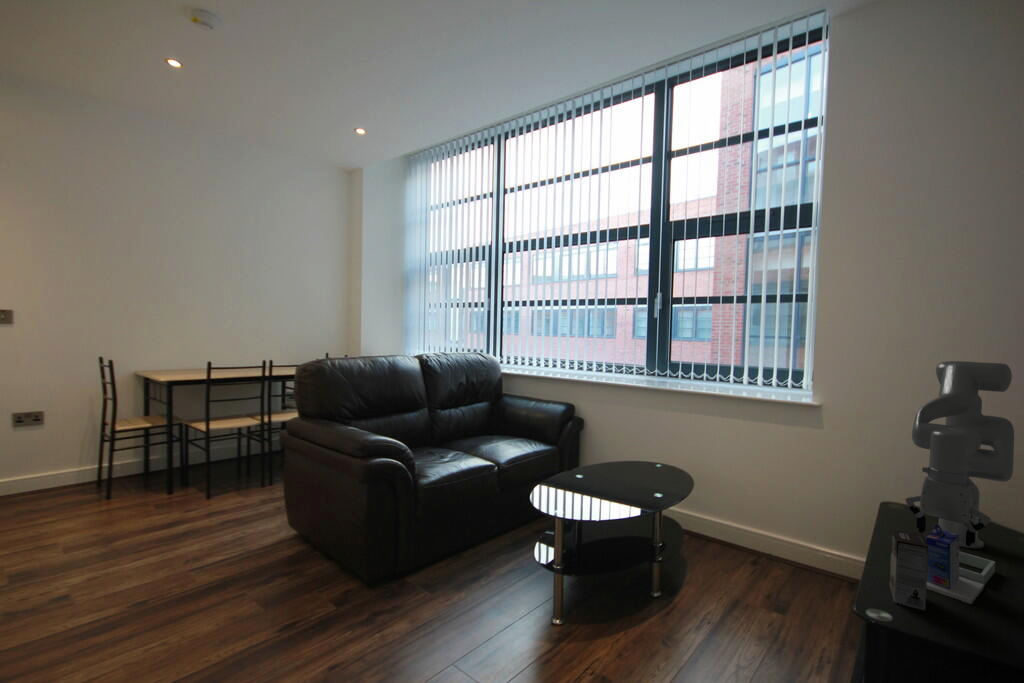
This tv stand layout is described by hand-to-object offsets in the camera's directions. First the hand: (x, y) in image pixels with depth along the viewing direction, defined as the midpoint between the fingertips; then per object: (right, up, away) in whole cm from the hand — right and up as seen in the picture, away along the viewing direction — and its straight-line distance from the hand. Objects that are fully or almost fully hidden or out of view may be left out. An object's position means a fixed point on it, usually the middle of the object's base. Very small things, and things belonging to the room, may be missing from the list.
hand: (944, 537), depth 129 cm
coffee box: (-17, -12, -8) cm, 23 cm away
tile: (-1, -12, 0) cm, 12 cm away
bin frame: (+11, -13, +9) cm, 19 cm away
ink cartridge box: (-1, -12, 0) cm, 12 cm away
